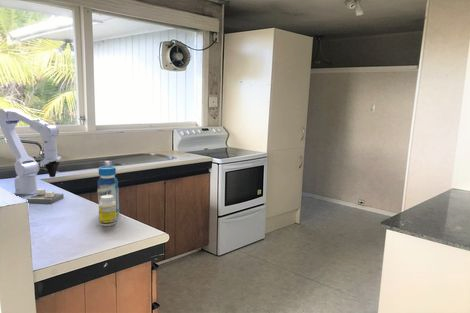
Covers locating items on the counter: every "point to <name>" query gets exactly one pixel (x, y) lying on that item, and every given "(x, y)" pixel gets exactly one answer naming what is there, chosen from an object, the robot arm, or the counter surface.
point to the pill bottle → (107, 210)
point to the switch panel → (45, 198)
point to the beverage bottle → (108, 184)
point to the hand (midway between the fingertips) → (52, 176)
